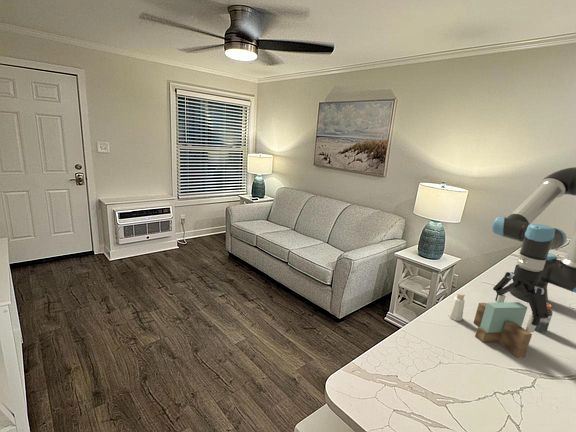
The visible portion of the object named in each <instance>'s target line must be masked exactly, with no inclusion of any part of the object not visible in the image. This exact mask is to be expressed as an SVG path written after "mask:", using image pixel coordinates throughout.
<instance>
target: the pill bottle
mask: <svg viewBox="0 0 576 432" xmlns="http://www.w3.org/2000/svg"><path fill="white" fill-rule="evenodd" d="M546 304H547V311H548V318H541V319H540V322H539V325H538V326H536V327H535V330H534V332H538V333H542V334H543V333H546V332H548V329H549V326H550V323H551V319H552V317H553V311H552V310H551V309H552V305H551V304H550V303H548V302H547V303H546ZM531 315H533V313H532V312H531Z"/></svg>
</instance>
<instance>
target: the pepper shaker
mask: <svg viewBox="0 0 576 432" xmlns="http://www.w3.org/2000/svg"><path fill="white" fill-rule="evenodd" d="M464 298H465V293H463V292H461V291H457V292H456V295H455V297H454V298H453V301H452V303H451V305H450V308H449V310H448V313H447V317H448V318H449V319H450V320H453V321H455V322H461V321H462V320H463V314H464V308H465V307H464V306H465V299H464Z"/></svg>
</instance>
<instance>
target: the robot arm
mask: <svg viewBox="0 0 576 432" xmlns="http://www.w3.org/2000/svg"><path fill="white" fill-rule="evenodd" d="M563 195H571V196H576V166H575V167H573V166H572V167H567V168H563V169H560V170H557V171H554V172H553V173H551V174H549V175H547V176H545V177H544V178H543V179H542V180H540V182H539V183H538V186H537V188H536V189H535V190H534V191H533V192H532V193H531V194H530V195H528V197H526V199H525V200H524V201H523V202H522V203H521V204H520V205H519V206H518V207H516V208H515V210H513V212H511V214H509V215H508V216H507V217H506V216H497V217H496V218H495V219H494V220H493V223H492V225H491V226H492V232H493V234H495V235H497V236H500V237H503V238H507V239H511V240H515V241H518V242H521V243H522V245H521V248H520V251H519V254H518V258H517V261H516V264H515V267H514V270H513V271H511V272H509V271H508V272H507V271H506V272H505V273H504V275H503V277H502V279H500V280H499V281H498V282H497V283H496V285H495V286H493V288H492V289H493V291H495V292H496V297H495V299H494V301H495V303H503V302H505V299H506V294H507V293H510V294H511V295H512V296H514V297H515V298H517V299H519V300H522V301H525V302H527V303H529V307H530V310H531V314H530V316H529V319H528V322H527V325H526V328H525V330H527V331H528V332H530V333H534V332H535V327H536V326H538V325H539V322H540V319H541V318H548V311H547V304H546V303H548V300H549V295H548V293H549V292H548V285H549V284H550V285H553V286H556V287H557V288H558V287H559V288H562V289H564V290H567V291H570V292H571V293H575V294H576V222H575V224H574V227H573V231H572V234H571V237H570V241H569V244H568V247H567V251H566V255H565V256H562V257H561V258H560V259H558V255H556V254H553V253H550V251H551V250H556V249H559V248H561V247H564V245H565V244H566V243H567V239H568V237H567V234H566V233H565V232H564V230H562V229H560V228H558V227H552V226H549V225H546V224H541V223H533V222H534V221H535V220H537V218H538V217H539V216H540V215H541V214H542V213H543V212H544V211H545V210H546V209H547V208H548V207H549V206H550V205H551V204H552V203H553V202H554V201H555V200H556V199H559V198H561V197H563ZM510 281H512V282H511V283H509V282H510ZM508 283H509V284H508ZM532 313H533V315H532Z"/></svg>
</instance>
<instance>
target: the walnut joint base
mask: <svg viewBox="0 0 576 432" xmlns="http://www.w3.org/2000/svg"><path fill="white" fill-rule="evenodd" d="M487 303H488V302H478V305H477V309H476V313H475V316H474V320H473V324H475V326H476V327H477V328H476V332H475V335H474V337H475V338H476V339H478V340H479V341H480V342H481V343H496V342H497V343H498V344H500V345H501V346H502V347H503V348H504V349H506V350H508V352H509V353H511V354H512V355H514V356H515V357H516V358H525V356H526V354H527V352H528V348H529V344H530V341H531V339H532V336H533V334H532V332H528V331H527V330H526V328H524V327H522V326H519V325H518V324H516V323H515V322H513V321H505V325H504V328H503V331H502V332H492V333H487V332H486V331H485V330H483V329H482V328H481V327H480V325H481V322H482V318H483V315H484V311H485V308H486V304H487Z"/></svg>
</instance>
